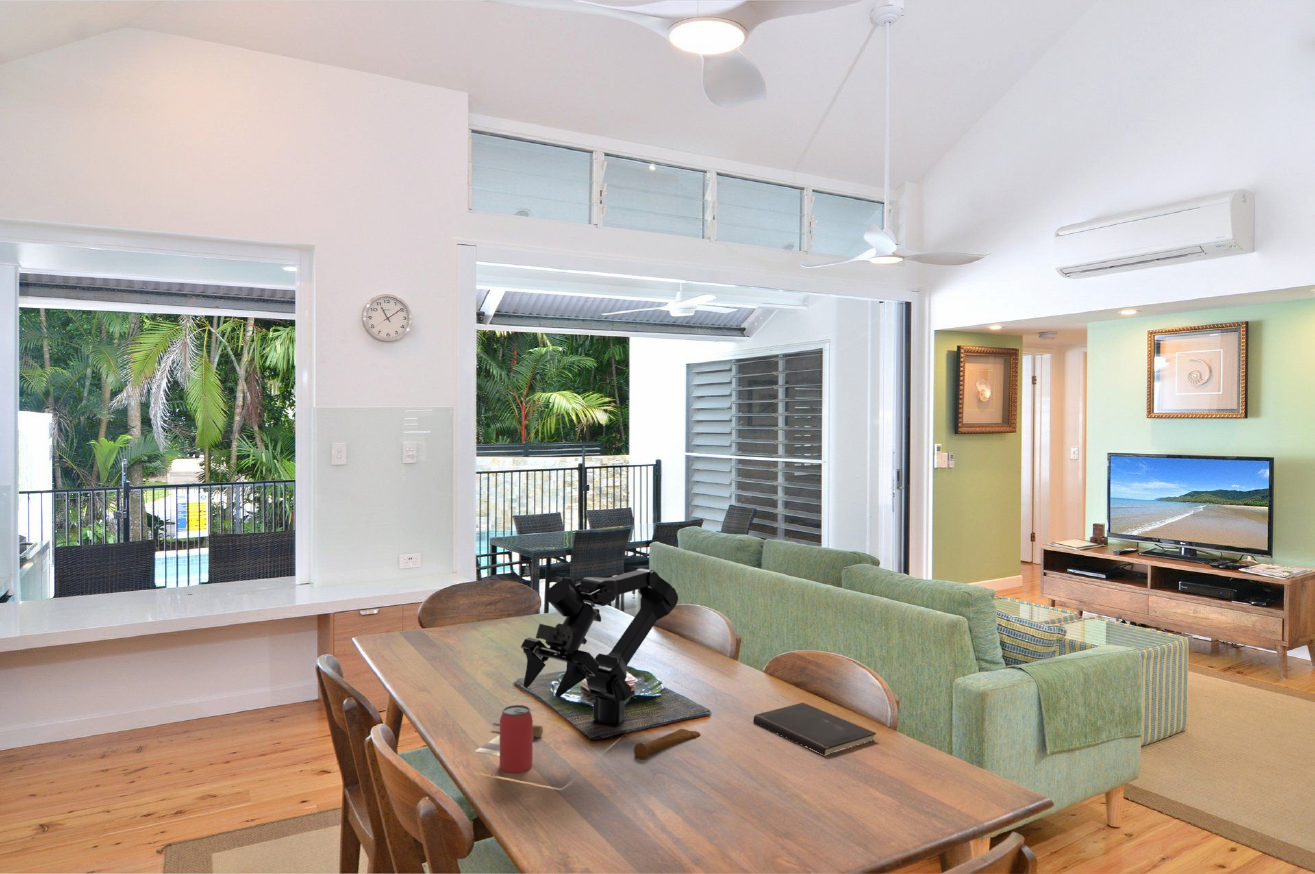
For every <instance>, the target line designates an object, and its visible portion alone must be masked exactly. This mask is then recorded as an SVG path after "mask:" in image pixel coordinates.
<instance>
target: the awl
mask: <svg viewBox="0 0 1315 874" xmlns="http://www.w3.org/2000/svg"><path fill="white" fill-rule="evenodd" d="M492 725H493V726H494V727H495V726H496V727H500V722H493V724H492ZM543 734H544V729H543V726H542V725H538V724H537V725H535V724H533V737H535V738H541V737H542V736H543Z"/></svg>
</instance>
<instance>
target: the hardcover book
mask: <svg viewBox="0 0 1315 874" xmlns="http://www.w3.org/2000/svg"><path fill="white" fill-rule="evenodd" d="M755 723H756V725H758V726H760V727H762V726H763V728H764V729H766V730H768V729H769V730H768V731H770V730H771V731H770V732H772V731H773V733H774V732H775V733H774V734H776V733H778V734H779V736H780V735H782V736H781V737H783V736H784V737H783V738H785V737H787V738H788V739H787V738H786V739H787V740H789V739H790V740H789V741H791V740H793V741H794V742H793V741H792V742H793V743H795V742H798V743H799V744H802V745H803V746H807V747H808V748H811V749H813V750H815V751H817V752H819V753H821V754H823V755H825V754H827V753H831V752H834V751H836V750H840V749H842V748H848V747H850V746H854V745H857V744H861V745H863V744H862V743H864V742H867V743H869V741H871V742H873V741H872V740H875V739H874V738H875V735H877V732H875V731H872V730H870V729H868V728H865V727H863V726H860V725H858V724H855V723H854V722H850V721H849V720H846V719H844V718H841V717H838V716H837V715H833V714H832V713H829V712H827V711H825V710H822V709H819V708H817V707H814V706H813V705H810V704H808V703H805V702H800V703H797V704H792V705H788V706H784V707H781V708H777V709H773V710H768V711H764V712H760V713H756V714H755V715H754V716H753V724H755ZM778 734H777V735H778ZM799 744H798V745H799ZM864 744H865V743H864ZM803 746H802V747H803ZM808 748H807V749H808ZM848 749H849V748H848Z"/></svg>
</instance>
